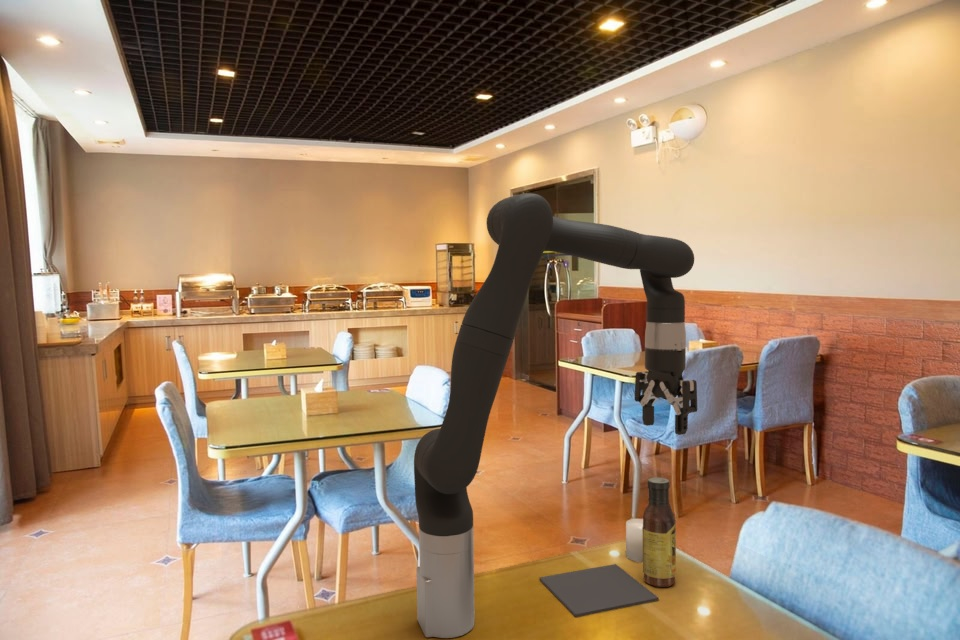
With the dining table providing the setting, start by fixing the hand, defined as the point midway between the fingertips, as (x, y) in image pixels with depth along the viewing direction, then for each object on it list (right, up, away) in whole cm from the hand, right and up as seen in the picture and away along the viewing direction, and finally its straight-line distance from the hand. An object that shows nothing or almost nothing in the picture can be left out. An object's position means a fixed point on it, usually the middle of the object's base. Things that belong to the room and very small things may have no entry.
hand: (664, 429), depth 126 cm
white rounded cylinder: (-2, -29, +12) cm, 31 cm away
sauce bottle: (-1, -30, +1) cm, 30 cm away
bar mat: (-13, -30, -2) cm, 33 cm away
